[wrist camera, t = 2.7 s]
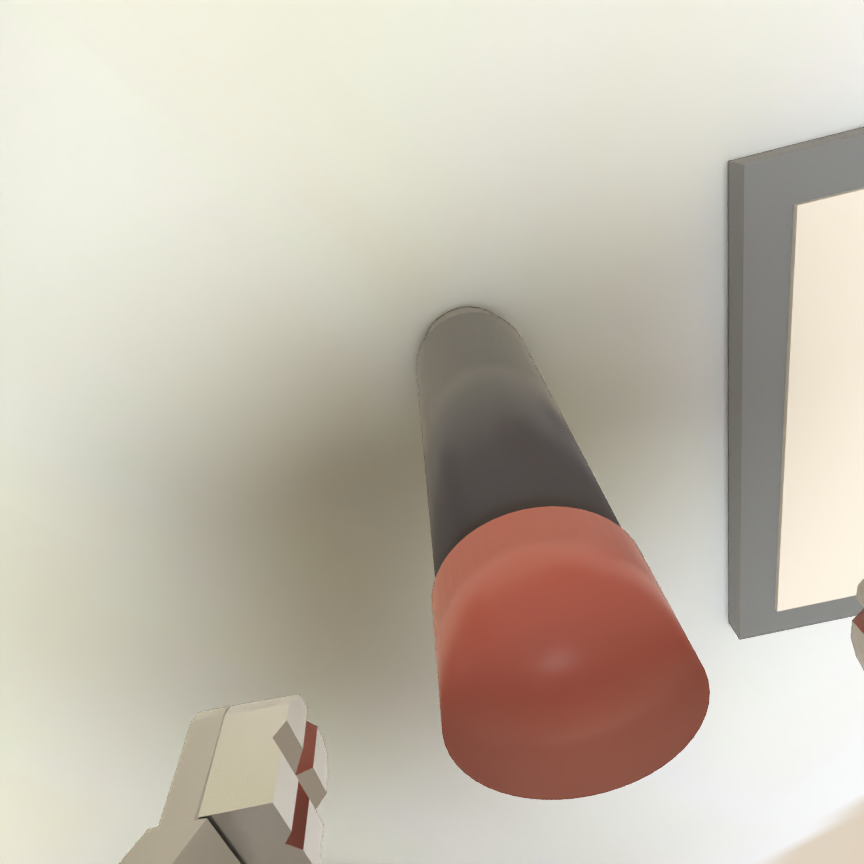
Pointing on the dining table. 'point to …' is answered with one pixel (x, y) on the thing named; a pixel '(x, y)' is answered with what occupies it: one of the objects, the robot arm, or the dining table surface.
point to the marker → (539, 586)
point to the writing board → (796, 384)
